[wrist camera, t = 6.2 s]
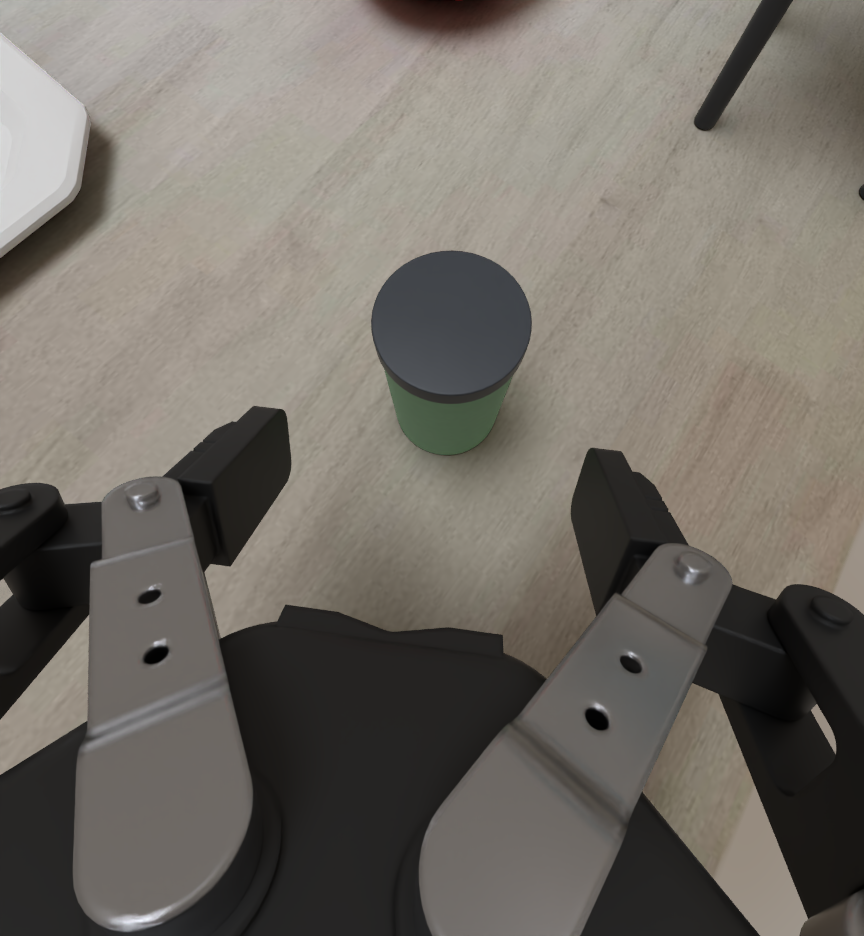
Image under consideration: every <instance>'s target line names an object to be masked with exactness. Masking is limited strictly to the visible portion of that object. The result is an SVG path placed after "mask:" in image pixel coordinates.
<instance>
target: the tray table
mask: <svg viewBox="0 0 864 936" xmlns="http://www.w3.org/2000/svg"><path fill="white" fill-rule="evenodd" d="M792 1H793V0H762V1H761V3H760V5H759V6H758V8H757V10H756V12H755V13H754V15H753V17H752V19H751V20H750V22H749V24H748V26H747V27H746V29H745V31H744V33H743V34H742V36H741V38H740V40H739V41H738V43H737V45H736V47H735V48H734V50H733V52H732V54H731V55H730V57H729V59H728V60H727V62H726V64H725V66H724V67H723V69H722V71H721V73H720V74H719V76H718V78H717V80H716V81H715V83H714V85H713V87H712V88H711V90H710V92H709V94H708V95H707V97H706V99H705V101H704V102H703V104H702V106H701V108H700V109H699V111H698V113H697V115H696V116H695V120H694V121H695V124H696V126H697V127H699V128H700V129H704V130H708V129H711V128H712V127H714V125H715V124H716V122H717V121H718V119H719V117H720V116H721V114H722V113H723V111H724V109H725V108H726V106H727V105H728V103H729V102H730V100H731V98H732V97H733V95H734V94H735V92H736V90H737V89H738V87H739V86H740V84H741V82H742V81H743V79H744V78H745V76H746V74H747V73H748V71H749V70H750V68H751V66H752V65H753V63H754V62H755V60H756V58H757V57H758V55H759V54H760V52H761V50H762V49H763V47H764V46H765V44H766V43H767V41H768V39H769V38H770V36H771V35H772V33H773V31H774V30H775V28H776V27H777V25H778V23H779V22H780V20H781V19H782V17H783V15H784V14H785V12H786V11H787V9H788V7H789V6H790V4H791V3H792ZM860 195H861V197H862V198H863V199H864V184H863V185H862V186H861V188H860Z"/></svg>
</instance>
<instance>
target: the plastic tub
mask: <svg viewBox="0 0 864 936" xmlns="http://www.w3.org/2000/svg"><path fill="white" fill-rule="evenodd" d="M531 326H532V320H531V311H530V308H529V304H528V301H527V299H526V296H525V294H524V292H523V290H522V289H521V287H520V285H519V284H518V283H517V281H516V280H515V279H514V277H513V276H511V275H510V274H509V273H508V272H507V271H506V270H505V269H504V268H502V267H501V266H500V265H498V264H497V263H495V262H493V261H491V260H489V259H487V258H485V257H482V256H480V255H476V254H473V253H468V252H463V251H440V252H434V253H430V254H426V255H423V256H420V257H418V258H415V259H413V260H411V261H410V262H408V263H406V264H404V265H403V266H402V267H400V268H399V269H398V270H396V271H395V272H394V273H393V274H392V275H391V276H390V277H389V279H388V280H387V281H386V282H385V284H384V285H383V287H382V288H381V290H380V292H379V293H378V296H377V298H376V300H375V303H374V307H373V311H372V319H371V328H372V336H373V341H374V344H375V348H376V351H377V354H378V357H379V360H380V362H381V364H382V366H383V367H384V370H385V373H386V377H387V381H388V385H389V388H390V392H391V396H392V400H393V403H394V407H395V411H396V415H397V418H398V421H399V424H400V426H401V428H402V430H403V432H404V433H405V435H406V436H407V437H408V438H409V440H410V441H412V442H413V443H414V444H415V445H417V446H418V447H420V448H421V449H423V450H425V451H428V452H431V453H434V454H439V455H454V454H459V453H462V452H466V451H468V450H470V449H472V448H474V447H475V446H477V445H478V444H479V443H481V442H482V441H483V440H484V439H485V438H486V436H487V435H488V434H489V432H490V431H491V429H492V427H493V425H494V422H495V420H496V417H497V415H498V412H499V410H500V407H501V404H502V402H503V399H504V397H505V394H506V392H507V389H508V387H509V384H510V382H511V379H512V377H513V375H514V373H515V372H516V370H517V369H518V367H519V365H520V363H521V361H522V359H523V357H524V355H525V352H526V350H527V347H528V344H529V341H530V336H531Z"/></svg>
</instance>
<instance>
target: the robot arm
mask: <svg viewBox="0 0 864 936" xmlns="http://www.w3.org/2000/svg"><path fill="white" fill-rule="evenodd" d="M290 471H291V452H290V442H289V433H288V423H287V416H286V413H285V411H284V410H282V409H275V408H267V407H259V406H253V407H252V408H251V409H250V410H249V411H247V412H246V413H245V414H244V415H243V416H242V417H241V418H240V419H239V420H238V421H237V422H230V423H228V424H226V425H224V426H222V427H219V428H217V429H215V430H214V431H213V432H212V433H210V434H209V435H208V436H207V437H206V438H205V439H204V440H203V442H200V443H199V444H198V445H197V446H196V447H195V448H194V451H190V452H189V453H188V454H187V455H186V456H185V457H184V458H183V459H182V460H180V461H179V462H178V463H177V464H176V465H175V466H174V467H173V468H172V469H170V470H169V471H168V472H167V473H166V474H165V475H164V476H163V477H144V478H139V479H135V480H132V481H128V482H126V483H123V484H121V485H119V486H117V487H116V488H114V489H113V490H111V491H110V492H109V493H108V494H107V495H106V496H105V497H104V499H103V501H102V502H92V503H79V504H64V502H63V500H62V498H61V495H60V493H59V491H58V489H57V488H56V487H54V486H52V485H49V484H44V483H27V484H20V485H15V486H10V487H7V488H3V489H0V580H2V579H3V578H4V580H5V582H6V583H7V585H8V587H9V588H10V590H11V591H12V593H13V595H12V596H11V597H10V598H9V599H8V600H7V601H6V602H5V603H4V604H3V605H2V606H1V607H0V719H1V718H2V717H3V716H4V715H5V713H6V712H7V711H8V710H9V709H10V708H11V706H12V705H13V704H14V703H15V702H16V700H17V699H18V698H19V697H20V696H21V695H22V693H23V692H24V691H25V690H26V689H27V687H28V686H29V685H30V684H31V683H32V682H33V680H34V679H35V678H36V677H37V676H38V674H39V673H40V672H41V671H42V670H43V668H44V667H45V666H46V665H47V664H48V663H49V661H50V660H51V659H52V658H53V657H54V655H55V654H56V653H57V652H58V651H59V650H60V648H61V647H62V646H63V645H64V644H65V642H66V641H67V640H68V639H69V638H70V636H71V635H72V634H73V633H74V632H75V631H76V629H77V628H78V627H79V626H80V625H81V623H82V622H83V621H84V620H85V619H86V618H87V616H88V615H89V667H88V721H86V722H85V723H83V724H82V725H80V726H78V727H77V728H75V729H74V730H72V731H70V732H69V733H67V734H66V735H64V736H62V737H61V738H59V739H58V740H56V741H54V742H53V743H51V744H50V745H48V746H46V747H45V748H43V749H42V750H40V751H38V752H37V753H35V754H33V755H32V756H30V757H29V758H27V759H25V760H24V761H22V762H21V763H19V764H17V765H16V766H14V767H13V768H11V769H9V770H8V771H6V772H5V773H3V774H1V775H0V936H760V935H759V934H758V933H757V931H756V930H755V929H754V928H753V927H752V925H751V924H750V923H749V922H748V920H747V919H746V918H745V917H744V916H743V914H742V913H741V912H740V911H739V909H738V908H737V907H736V906H735V905H734V903H732V901H731V900H730V899H729V897H728V896H727V895H726V894H725V892H724V891H723V890H722V889H721V888H720V886H719V885H718V884H717V883H716V881H715V880H714V879H713V878H712V877H711V875H710V874H709V873H708V872H707V870H706V869H705V868H704V867H703V866H702V864H701V863H700V862H699V861H698V860H697V858H696V857H695V856H694V855H693V853H692V852H691V851H690V850H689V849H688V847H687V846H686V845H685V844H684V842H683V841H682V840H681V839H680V838H679V836H678V835H677V834H676V833H675V831H674V830H673V829H672V828H671V827H670V825H669V824H668V823H667V822H666V820H665V819H664V818H663V817H662V816H661V814H660V813H659V812H658V811H657V809H656V808H655V807H654V806H653V805H652V803H651V802H650V801H649V800H648V798H647V797H646V796H645V795H644V794H643V792H642V790H643V788H644V786H645V784H646V782H647V779H648V777H649V775H650V773H651V771H652V769H653V766H654V764H655V762H656V760H657V758H658V755H659V753H660V751H661V749H662V747H663V745H664V742H665V740H666V738H667V736H668V734H669V732H670V729H671V727H672V725H673V723H674V721H675V719H676V716H677V714H678V712H679V710H680V708H681V706H682V703H683V701H684V699H685V697H686V695H687V693H688V690H689V688H690V686H691V684H692V683H694V684H696V685H699V686H701V687H703V688H706V689H708V690H711V691H713V692H715V693H718V694H719V696H720V699H721V701H722V704H723V706H724V709H725V711H726V714H727V716H728V719H729V721H730V724H731V726H732V729H733V731H734V734H735V736H736V739H737V741H738V744H739V746H740V749H741V751H742V754H743V756H744V759H745V761H746V764H747V766H748V769H749V771H750V774H751V776H752V779H753V782H754V784H755V787H756V789H757V792H758V794H759V797H760V799H761V802H762V804H763V806H764V809H765V812H766V814H767V816H768V819H769V822H770V824H771V827H772V829H773V832H774V834H775V837H776V839H777V841H778V844H779V847H780V849H781V852H782V854H783V857H784V859H785V862H786V864H787V866H788V869H789V872H790V874H791V877H792V879H793V882H794V884H795V887H796V889H797V892H798V894H799V897H800V899H801V902H802V904H803V907H804V909H805V912H806V914H807V917H808V920H807V921H806V922H805V923H804V925H803V927H802V928H801V932H800V936H864V615H863V614H862V613H861V612H860V611H859V610H857V609H856V608H855V607H854V606H852V605H851V604H849V603H848V602H846V601H844V600H843V599H841V598H839V597H838V596H836V595H834V594H832V593H830V592H827V591H825V590H822V589H819V588H816V587H813V586H808V585H801V584H794V585H790V586H787V587H786V588H785V589H784V590H783V591H782V592H781V594H780V595H779V597H778V598H777V599H773V598H770V597H767V596H764V595H761V594H758V593H755V592H752V591H749V590H746V589H744V588H741V587H738V586H735V585H733V584H732V579H731V576H730V574H729V572H728V571H727V570H726V568H725V567H724V566H723V565H722V564H721V563H720V562H719V561H717V560H716V559H715V558H713V557H712V556H710V555H709V554H707V553H705V552H703V551H701V550H699V549H697V548H694V547H691V546H689V545H688V543H687V542H686V540H685V538H684V536H683V535H682V533H681V531H680V529H679V527H678V526H677V524H676V522H675V520H674V519H673V517H672V515H671V513H670V512H668V508H667V506H666V505H665V503H664V501H662V497H661V496H660V494H659V492H658V490H657V489H656V487H655V485H654V484H653V483H651V482H650V481H649V480H648V479H647V478H645V477H644V476H643V475H642V474H641V473H639V472H632V470H631V468H630V466H629V464H628V463H627V461H626V459H625V457H624V455H623V453H622V452H621V451H614V450H606V449H598V448H590V449H589V450H588V452H587V454H586V457H585V460H584V463H583V466H582V469H581V473H580V476H579V479H578V482H577V485H576V488H575V492H574V495H573V498H572V504H571V520H572V524H573V528H574V532H575V535H576V539H577V543H578V547H579V551H580V555H581V559H582V563H583V566H584V570H585V574H586V578H587V582H588V586H589V590H590V593H591V597H592V601H593V605H594V609H595V613H596V617H595V619H594V620H593V621H592V623H591V624H590V625H589V626H588V628H587V629H586V630H585V631H584V633H583V634H582V635H581V637H580V638H579V639H578V640H577V642H576V643H575V644H574V645H573V647H572V648H571V649H570V651H569V652H568V653H567V654H566V656H565V657H564V658H563V659H562V661H561V662H560V663H559V665H558V666H557V667H556V668H555V670H554V671H553V672H552V673H551V675H550V676H549V677H548V679H546V678H545V677H544V676H542V675H541V674H540V673H539V672H537V671H536V670H535V669H533V668H532V667H530V666H528V665H527V664H525V663H524V662H522V661H520V660H518V659H516V658H514V657H512V656H510V655H507V654H505V653H503V635H499V634H492V633H485V632H477V631H470V630H463V629H456V628H449V627H448V628H436V629H424V630H412V631H400V632H390V631H386V630H383V629H380V628H378V627H375V626H373V625H370V624H368V623H365V622H362V621H360V620H357V619H355V618H352V617H350V616H347V615H344V614H342V613H339V612H334V611H327V610H320V609H313V608H306V607H298V606H291V605H285V607H284V609H283V611H282V613H281V615H280V617H279V619H278V621H277V622H270V623H265V624H259V625H255V626H252V627H248V628H245V629H242V630H239V631H237V632H234V633H232V634H229V635H227V636H225V637H223V638H221V637H220V633H219V629H218V625H217V621H216V617H215V613H214V609H213V605H212V601H211V597H210V593H209V589H208V585H207V581H206V577H205V573H204V572H205V570H206V569H207V568H208V566H209V565H210V564H216V565H223V566H231V565H232V563H233V562H234V560H235V559H236V557H237V556H238V554H239V553H240V551H241V550H242V548H243V547H244V545H245V544H246V542H247V541H248V539H249V538H250V536H251V535H252V533H253V532H254V531H255V529H256V528H257V526H258V525H259V523H260V522H261V520H262V519H263V517H264V516H265V514H266V513H267V511H268V510H269V508H270V507H271V505H272V504H273V502H274V501H275V499H276V498H277V496H278V495H279V493H280V492H281V490H282V489H283V487H284V486H285V484H286V483H287V481H288V479H289V475H290ZM816 704H818V706H819V708H820V710H821V711H822V713H823V715H824V716H825V718H826V720H827V722H828V723H829V725H830V727H831V729H832V731H833V733H834V736H835V740H836V755H835V753H834V751H833V749H832V747H831V746H830V744H829V742H828V740H827V739H826V737H825V735H824V733H823V731H822V730H821V728H820V726H819V724H818V723H817V721H816V719H815V717H814V715H813V714H812V712H811V709H812V708H813V707H814V706H815V705H816Z"/></svg>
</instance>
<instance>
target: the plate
mask: <svg viewBox="0 0 864 936" xmlns="http://www.w3.org/2000/svg"><path fill="white" fill-rule="evenodd" d="M90 126H91V120H90V117H89V114H88V112H87V109H86V107H85V106H84V105H83V104H82V103H81V102H80V101H79V100H77V99H76V98H75V97H74V96H73V95H72V94H71V93H69V92H68V91H67V90H66V89H65V88H64V87H63V86H61V85H60V84H59V83H58V82H57V81H56V80H55V79H53V78H52V77H51V76H50V75H49V74H48V73H47V72H45V71H44V70H43V69H42V68H41V67H40V66H39V65H37V64H36V63H35V62H34V61H33V60H32V59H30V58H29V57H28V56H27V55H26V54H25V53H24V52H22V51H21V50H20V49H19V48H18V47H17V46H16V45H14V44H13V43H12V42H11V41H10V40H9V39H8V38H6V37H5V36H4V35H3V34H2V33H1V32H0V258H1V257H2V256H4V255H5V254H6V253H7V252H9V251H10V250H11V249H12V248H14V247H15V246H16V245H18V244H19V243H20V242H21V241H23V240H24V239H25V238H26V237H28V236H29V235H30V234H32V233H33V232H34V231H35V230H37V229H38V228H39V227H41V226H42V225H43V224H44V223H46V222H47V221H48V220H49V219H51V218H52V217H53V216H55V215H56V214H57V213H58V212H60V211H61V210H62V209H64V208H65V207H66V206H67V205H69V204H70V203H71V202H72V201H73V200H74V199H75V197H76V195H77V194H78V192H79V191H80V189H81V183H82V177H83V170H84V164H85V158H86V151H87V145H88V139H89V132H90Z"/></svg>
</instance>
